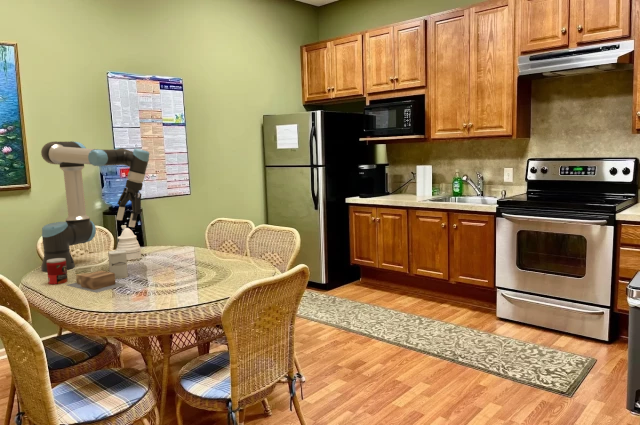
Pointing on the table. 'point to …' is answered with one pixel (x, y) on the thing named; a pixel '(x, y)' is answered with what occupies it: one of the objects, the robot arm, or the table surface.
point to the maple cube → (79, 278)
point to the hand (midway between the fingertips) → (125, 223)
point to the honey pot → (129, 244)
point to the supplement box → (118, 263)
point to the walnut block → (97, 280)
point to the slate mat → (96, 289)
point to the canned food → (57, 271)
